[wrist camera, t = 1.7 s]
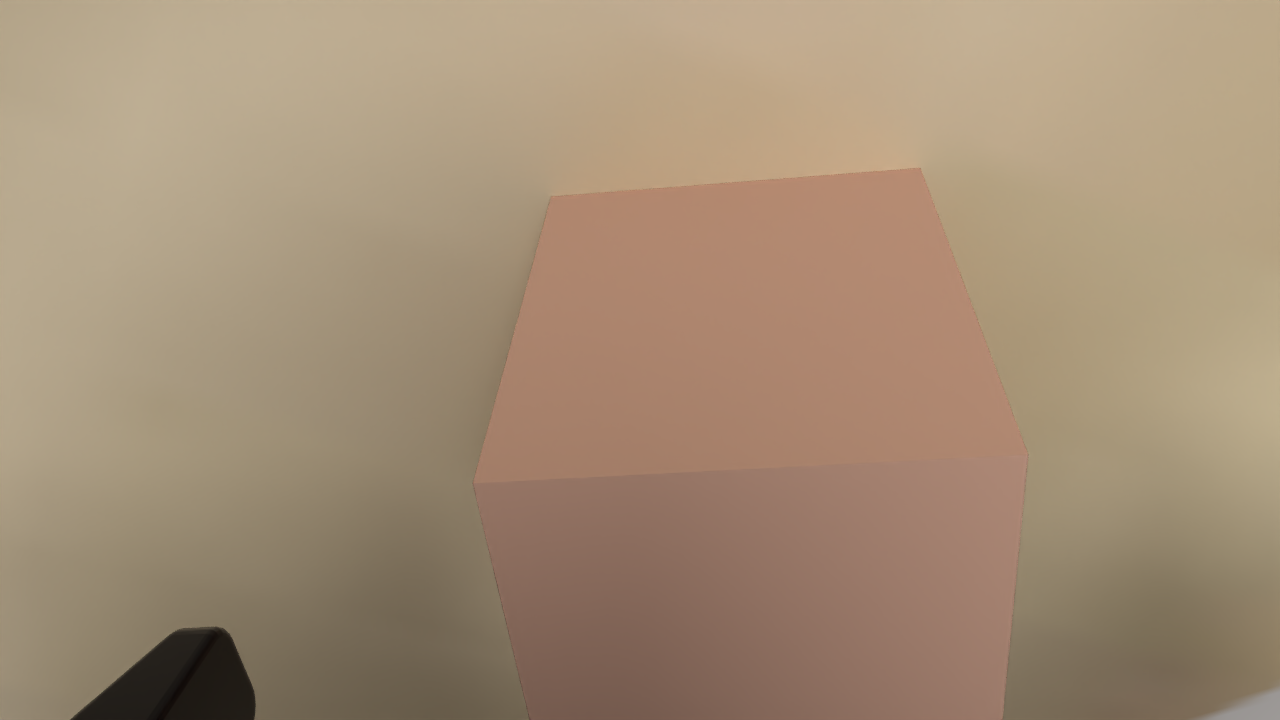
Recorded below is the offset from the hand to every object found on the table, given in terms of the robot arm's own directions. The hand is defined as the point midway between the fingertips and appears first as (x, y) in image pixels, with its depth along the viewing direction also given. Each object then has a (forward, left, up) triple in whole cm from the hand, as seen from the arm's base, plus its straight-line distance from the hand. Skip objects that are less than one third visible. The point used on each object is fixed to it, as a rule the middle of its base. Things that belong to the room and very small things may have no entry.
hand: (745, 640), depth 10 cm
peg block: (0, 0, -5) cm, 5 cm away
